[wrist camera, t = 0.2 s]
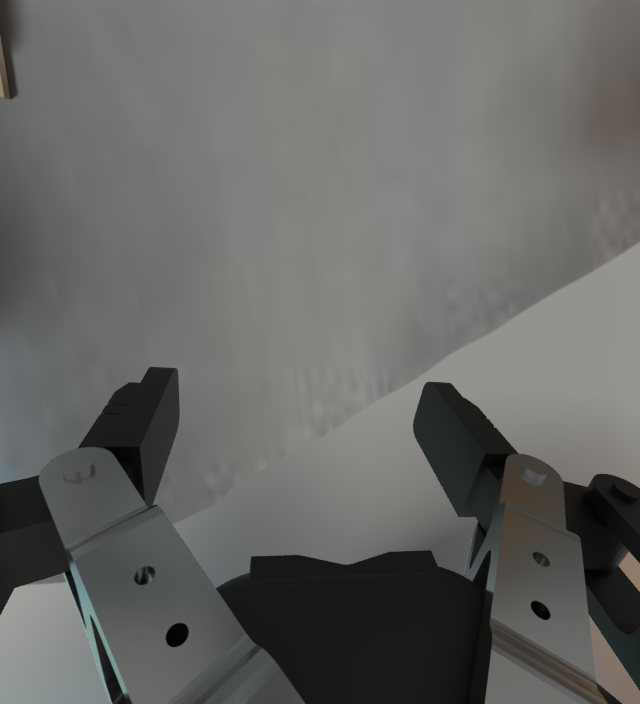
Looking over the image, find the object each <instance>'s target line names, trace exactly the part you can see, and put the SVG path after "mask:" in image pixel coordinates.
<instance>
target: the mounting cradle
mask: <svg viewBox="0 0 640 704" xmlns="http://www.w3.org/2000/svg"><path fill="white" fill-rule="evenodd" d="M0 98H5V99H11V98H10V92H9V86H8V80H7V73H6V67H5V61H4V55H3V48H2V42H1V36H0Z"/></svg>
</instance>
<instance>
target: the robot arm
mask: <svg viewBox="0 0 640 704" xmlns="http://www.w3.org/2000/svg"><path fill="white" fill-rule="evenodd" d="M178 424H179V384H178V371H177V369H176V368H162V367H150V368H149V369H148V371H147V372H146V374H145V376H144V378H143V379H142V381H141V383H130V382H129V383H128V384H126V385H125V386H123V387H122V388H120V389H119V390H117V391H116V392H115V393H114V394H113V396H112V397H111V399H110V400H109V402H108V403H107V406H105V408H104V409H103V411H102V412H101V415H99V417H98V418H97V420H96V421H95V423H94V424H93V426H92V427H91V429H90V430H89V432H88V433H87V435H86V436H85V438H84V440H83V441H82V443H81V444H80V446H79V447H78V449H74V450H71V451H68V452H66V453H63V454H61V455H59V456H57V457H56V458H54V459H53V460H51V461H50V462H49V463H48V464H47V465H46V466H45V467H44V468H43V469H42V471H41V472H40V475H38V476H35V477H31V478H27V479H22V480H17V481H12V482H7V483H2V484H0V615H1V613H2V611H3V609H4V607H5V605H6V603H7V601H8V599H9V597H10V595H11V594H12V592H13V590H14V588H16V587H19V586H22V585H26V584H29V583H32V582H35V581H39V580H42V579H45V578H48V577H51V576H55V575H58V574H61V573H63V574H64V577H65V580H66V582H67V585H68V588H69V590H70V593H71V596H72V598H73V601H74V604H75V606H76V609H77V612H78V614H79V617H80V620H81V622H82V625H83V628H84V630H85V633H86V636H87V638H88V641H89V644H90V647H91V650H92V653H93V657H94V659H95V663H96V666H97V669H98V672H99V675H100V678H101V681H102V684H103V686H104V689H105V692H106V694H107V697H108V700H109V703H110V704H622V703H620V702H619V701H618V700H617V699H616V698H614V697H613V696H612V695H611V694H610V693H609V692H607V691H606V690H605V689H604V688H602V687H601V686H600V685H599V684H598V683H596V680H595V673H594V664H593V663H594V662H593V653H592V643H591V634H590V624H589V615H590V617H591V618H592V620H593V621H594V623H595V624H596V625H597V627H598V628H599V630H600V631H601V633H602V635H603V636H604V637H605V639H606V641H607V642H608V644H609V645H610V646H611V648H612V650H613V651H614V653H615V654H616V656H617V657H618V658H619V660H620V662H621V663H622V664H623V666H624V668H625V669H626V670H627V672H628V674H629V675H630V677H631V678H632V680H633V681H634V683H635V684H636V685H637V687H638V689H639V690H640V592H639V591H638V590H637V588H636V587H635V586H634V585H633V583H632V582H631V581H630V580H629V579H628V577H627V576H626V575H625V574H624V572H623V571H622V570H621V569H620V568H619V566H618V565H619V564H620V563H621V561H622V560H623V559H624V557H625V556H626V555H627V553H628V552H629V551H630V553H631V554H632V555H633V556H634V557H635V558H636V560H637V561H638V562H639V563H640V488H638V487H637V486H635V485H634V484H632V483H630V482H628V481H626V480H624V479H621V478H619V477H616V476H613V475H608V474H598V475H595V477H594V478H593V479H592V481H591V482H590V484H589V486H588V487H585V486H581V485H576V484H573V483H569V482H564V481H563V480H562V478H561V477H560V475H559V474H558V473H557V472H556V471H555V470H554V469H553V468H552V467H551V466H549V465H548V464H546V463H545V462H543V461H541V460H539V459H537V458H535V457H532V456H529V455H525V454H518V453H517V451H516V450H515V449H514V448H513V447H512V446H511V445H510V443H509V442H508V441H507V440H506V439H505V438H504V437H503V435H502V434H501V433H500V432H499V431H498V430H497V428H494V425H493V424H492V423H491V422H490V420H489V419H487V417H486V416H485V415H484V414H483V412H482V411H481V410H480V409H479V408H478V407H477V406H475V405H474V404H473V403H471V402H470V401H468V400H467V399H465V398H463V397H462V396H461V395H460V393H459V392H458V391H457V390H456V389H455V387H454V386H453V385H452V384H451V383H443V382H427V383H426V384H425V386H424V388H423V391H422V395H421V398H420V401H419V404H418V408H417V411H416V414H415V418H414V423H413V429H414V435H415V438H416V439H417V442H418V443H419V445H420V447H421V449H422V451H423V452H424V454H425V456H426V458H427V460H428V462H429V463H430V465H431V467H432V469H433V471H434V473H435V474H436V476H437V478H438V480H439V482H440V484H441V486H442V487H443V489H444V491H445V493H446V495H447V497H448V498H449V500H450V502H451V504H452V505H453V508H454V509H455V511H456V513H457V515H458V517H476V518H477V520H478V522H477V524H476V527H475V529H474V533H473V537H472V542H471V546H470V551H469V555H468V560H467V564H466V569H465V573H464V576H462V575H460V574H458V573H455V572H453V571H451V570H448V569H445V568H442V567H438V566H437V564H436V561H435V559H434V557H433V554H432V552H431V551H404V552H403V551H402V552H388V553H385V554H382V555H378V556H376V557H372V558H369V559H366V560H363V561H360V562H357V563H354V564H350V565H343V564H338V563H333V562H328V561H324V560H319V559H315V558H310V557H305V556H300V555H287V556H286V555H284V556H254V557H251V563H250V573H247V574H244V575H241V576H239V577H236V578H234V579H232V580H230V581H228V582H226V583H224V584H222V585H221V586H219V587H217V588H215V587H214V585H213V584H212V582H211V581H210V579H209V578H208V576H207V575H206V573H205V572H204V570H203V569H202V567H201V566H200V565H199V563H198V562H197V560H196V559H195V557H194V556H193V554H192V553H191V551H190V550H189V548H188V547H187V545H186V544H185V543H184V541H183V539H182V538H181V537H180V535H179V534H178V532H177V531H176V529H175V528H174V526H173V525H172V523H171V522H170V520H169V519H168V517H167V516H166V515H165V513H164V512H163V510H162V509H161V508H160V507H159V506H158V505H153V502H154V499H155V496H156V493H157V490H158V487H159V484H160V481H161V478H162V475H163V472H164V469H165V466H166V463H167V460H168V457H169V454H170V451H171V448H172V445H173V442H174V439H175V436H176V433H177V429H178ZM152 505H153V506H152Z"/></svg>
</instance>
